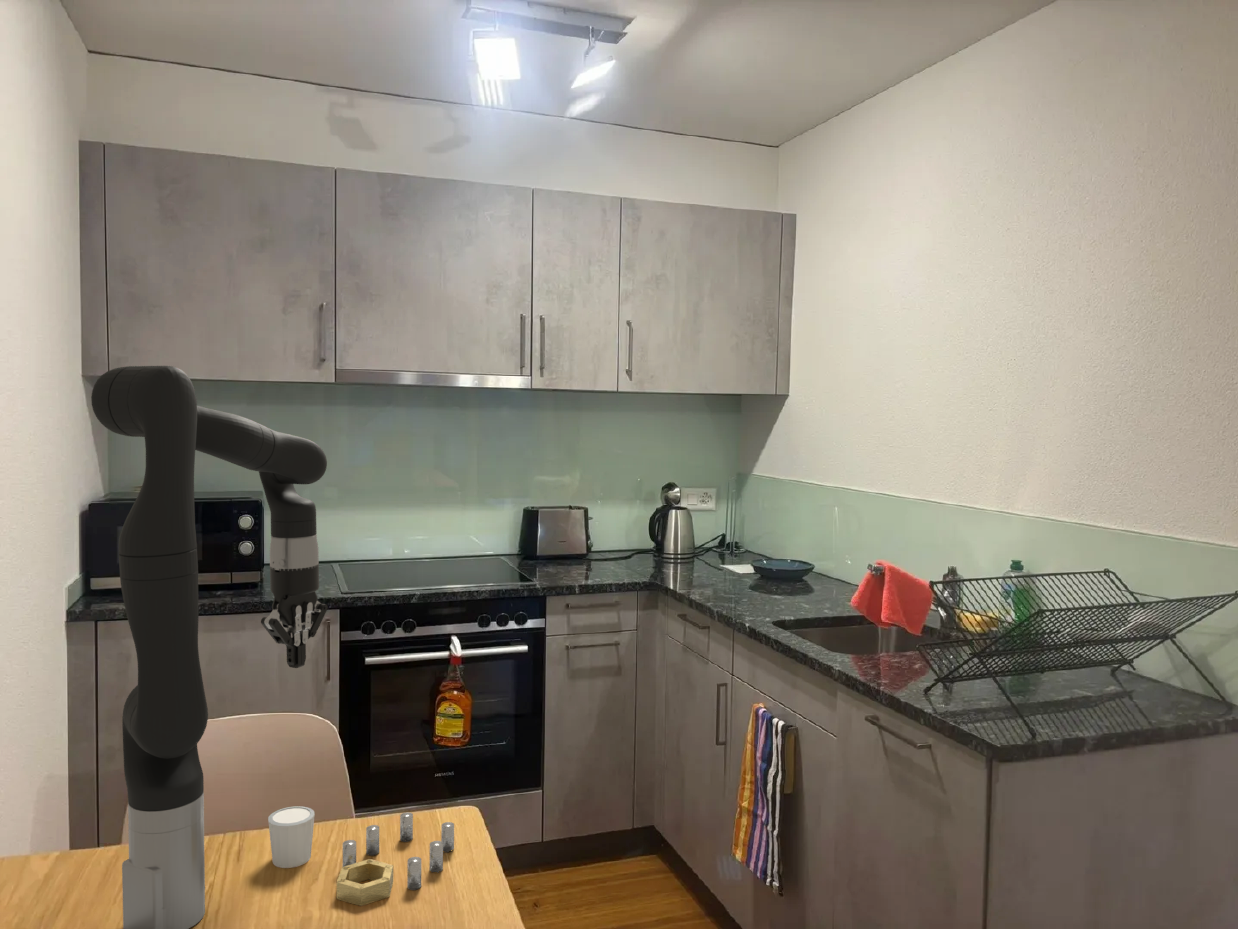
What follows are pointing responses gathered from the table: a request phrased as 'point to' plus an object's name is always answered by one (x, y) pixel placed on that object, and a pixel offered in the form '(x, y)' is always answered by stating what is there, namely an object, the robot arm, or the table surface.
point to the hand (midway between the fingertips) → (296, 666)
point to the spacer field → (405, 836)
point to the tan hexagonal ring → (369, 891)
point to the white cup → (291, 836)
